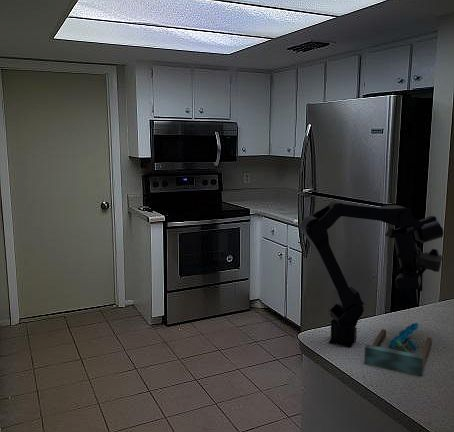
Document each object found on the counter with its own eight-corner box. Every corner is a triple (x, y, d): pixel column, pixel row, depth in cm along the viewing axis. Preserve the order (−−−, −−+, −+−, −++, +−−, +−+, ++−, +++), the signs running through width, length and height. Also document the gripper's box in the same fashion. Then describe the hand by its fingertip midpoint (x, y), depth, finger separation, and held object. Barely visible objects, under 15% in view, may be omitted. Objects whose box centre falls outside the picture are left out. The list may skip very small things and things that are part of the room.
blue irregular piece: (394, 332, 137) (419, 316, 131) (408, 348, 136) (434, 332, 130) (381, 349, 129) (407, 333, 123) (396, 367, 127) (423, 351, 121)
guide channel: (364, 363, 121) (364, 347, 120) (381, 335, 139) (382, 321, 139) (421, 375, 114) (422, 358, 113) (431, 344, 132) (432, 329, 132)
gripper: (432, 256, 120) (444, 310, 123) (440, 234, 136) (451, 282, 138) (389, 260, 127) (401, 312, 129) (401, 238, 142) (412, 285, 144)
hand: (418, 297), depth 135 cm, fingers open, 9 cm apart
